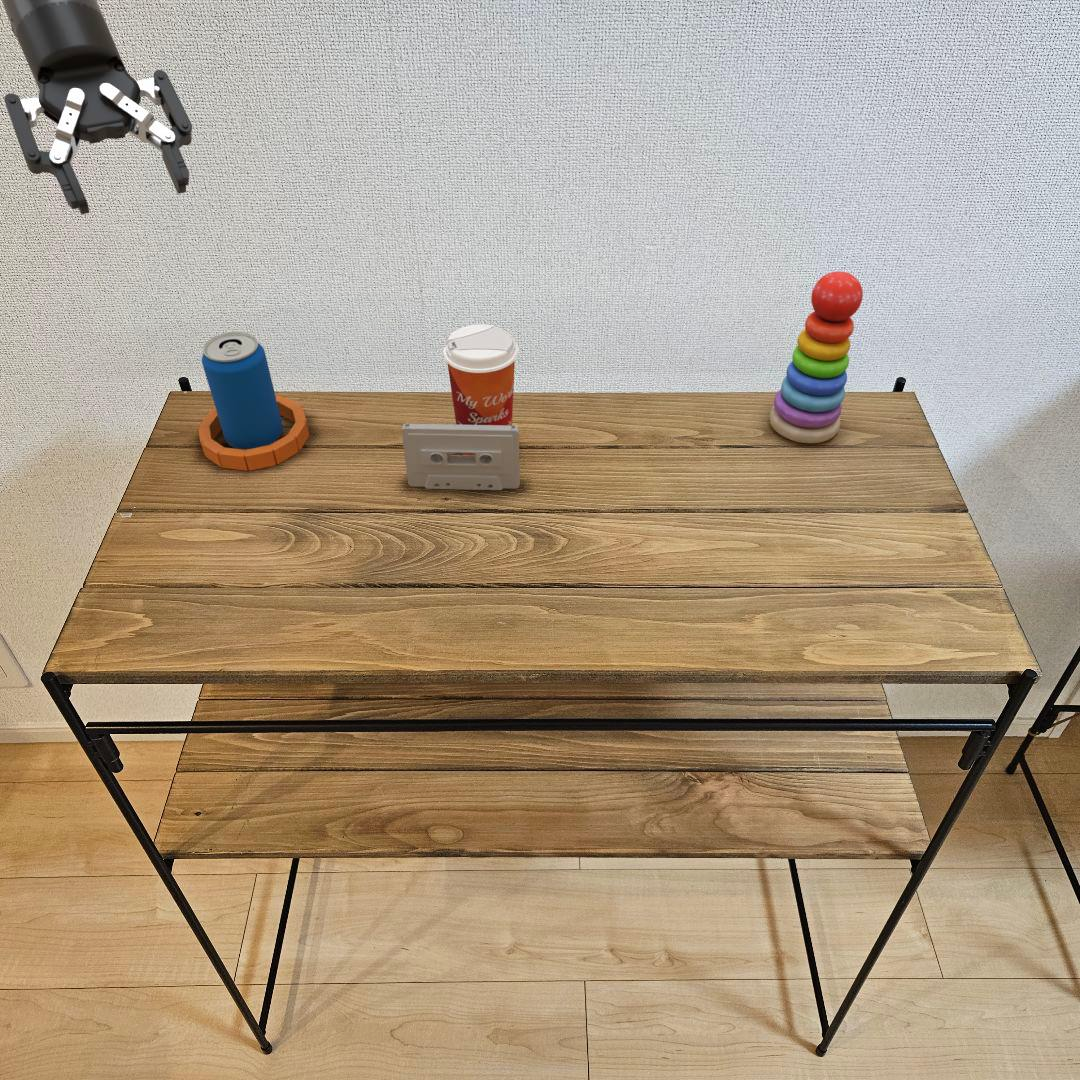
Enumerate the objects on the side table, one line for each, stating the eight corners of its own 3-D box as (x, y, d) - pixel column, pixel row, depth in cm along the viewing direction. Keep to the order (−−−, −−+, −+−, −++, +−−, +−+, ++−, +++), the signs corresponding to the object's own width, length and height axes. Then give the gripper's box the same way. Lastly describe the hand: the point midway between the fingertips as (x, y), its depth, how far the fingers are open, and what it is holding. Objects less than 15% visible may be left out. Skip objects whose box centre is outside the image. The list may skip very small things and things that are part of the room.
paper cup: (458, 477, 96) (450, 366, 86) (445, 436, 101) (435, 327, 92) (528, 465, 98) (527, 354, 88) (511, 425, 103) (509, 317, 93)
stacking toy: (845, 447, 100) (890, 295, 87) (774, 446, 100) (809, 294, 87) (830, 407, 106) (870, 258, 93) (762, 406, 106) (794, 257, 93)
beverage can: (279, 416, 104) (257, 325, 96) (288, 447, 100) (266, 355, 92) (223, 427, 103) (195, 336, 94) (229, 460, 98) (201, 367, 90)
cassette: (407, 489, 95) (399, 431, 89) (409, 478, 96) (402, 420, 91) (519, 491, 94) (518, 433, 89) (520, 480, 96) (519, 422, 90)
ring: (208, 479, 96) (203, 465, 94) (199, 419, 104) (195, 405, 102) (315, 457, 99) (312, 442, 97) (299, 400, 107) (296, 386, 105)
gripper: (-37, 10, 72) (45, 198, 73) (141, -12, 78) (215, 162, 79) (-19, 64, 79) (55, 236, 80) (143, 41, 85) (211, 201, 86)
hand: (134, 199), depth 79 cm, fingers open, 8 cm apart
